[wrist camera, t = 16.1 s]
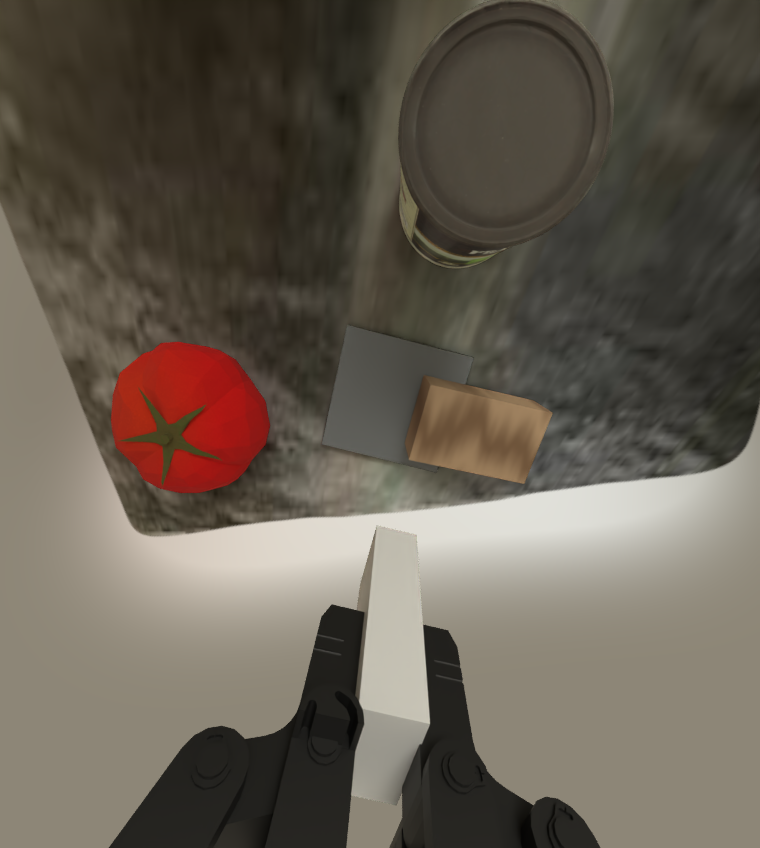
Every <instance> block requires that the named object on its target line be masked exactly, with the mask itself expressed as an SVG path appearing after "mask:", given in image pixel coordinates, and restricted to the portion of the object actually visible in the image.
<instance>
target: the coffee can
mask: <svg viewBox="0 0 760 848" xmlns="http://www.w3.org/2000/svg"><path fill="white" fill-rule="evenodd" d="M613 113H614V102H613V90H612V83H611V78H610V74H609V71H608V67H607V64H606V61H605V58H604V55H603V53H602V52H601V50H600V48H599V46H598V44H597V42H596V41H595V39H594V38H593V36H592V35H591V33H590V32H589V31H588V30H587V28H586V27H585V26H584V25H583V24H582V23H581V22H580V21H579V20H578V19H577V18H576V17H575V16H573V15H572V14H571V13H569V12H568V11H566V10H565V9H563V8H562V7H560V6H558V5H556V4H554V3H551V2H548V1H545V0H490V1H487V2H485V3H482V4H479V5H477V6H475V7H473V8H471V9H469V10H467V11H466V12H464V13H463V14H461V15H459V16H458V17H456V18H455V19H454V20H453V21H451V22H450V23H449V24H448V25H446V26H445V27H444V28H443V29H442V30H441V31H440V32H439V33H438V34H437V35H436V37H435V38H434V39H433V40H432V42H431V43H430V44H429V46H428V47H427V48H426V50H425V51H424V52H423V54H422V56H421V57H420V59H419V61H418V62H417V64H416V66H415V68H414V70H413V72H412V74H411V77H410V79H409V82H408V85H407V88H406V91H405V94H404V97H403V102H402V106H401V112H400V119H399V136H398V140H399V154H400V162H401V188H400V197H399V212H400V218H401V223H402V226H403V229H404V232H405V234H406V236H407V238H408V240H409V242H410V244H411V245H412V246H413V247H414V248H415V250H416V251H417V252H418V253H419V254H420V255H421V256H423V257H424V258H425V259H427V260H428V261H430V262H432V263H434V264H436V265H439V266H442V267H445V268H466V267H471V266H474V265H477V264H479V263H482V262H484V261H486V260H488V259H489V258H491V257H492V256H493V255H495V254H497V253H499V252H502V251H504V250H506V249H508V248H510V247H512V246H515V245H518V244H521V243H524V242H527V241H529V240H531V239H534V238H536V237H538V236H540V235H542V234H544V233H545V232H547V231H549V230H550V229H552V228H553V227H554V226H556V225H557V224H559V223H560V222H561V221H562V220H563V219H564V218H566V217H567V216H568V215H569V214H570V213H571V212H572V211H573V210H574V209H575V208H576V207H577V205H578V204H579V203H580V202H581V200H582V199H583V198H584V196H585V195H586V194H587V192H588V191H589V189H590V188H591V186H592V184H593V183H594V181H595V179H596V177H597V175H598V173H599V171H600V169H601V166H602V164H603V162H604V159H605V157H606V153H607V150H608V146H609V142H610V138H611V132H612V125H613Z"/></svg>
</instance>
